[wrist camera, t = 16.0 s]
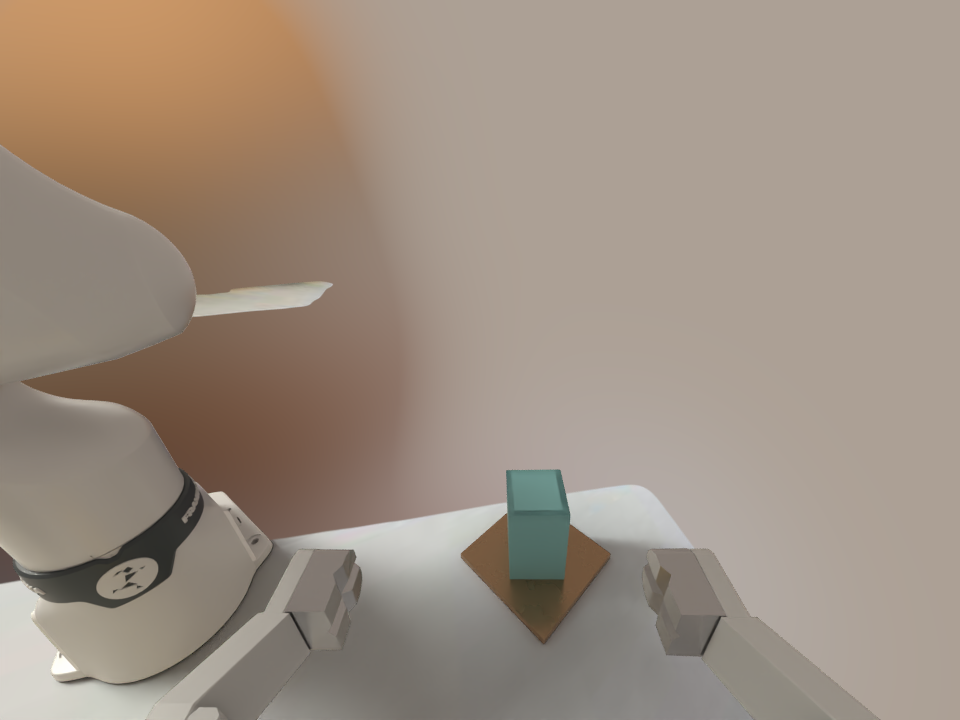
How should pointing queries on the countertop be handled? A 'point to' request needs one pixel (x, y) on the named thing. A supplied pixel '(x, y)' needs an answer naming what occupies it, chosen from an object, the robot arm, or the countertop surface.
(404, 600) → the countertop surface
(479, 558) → the brown square base plate
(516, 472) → the teal tall prism
